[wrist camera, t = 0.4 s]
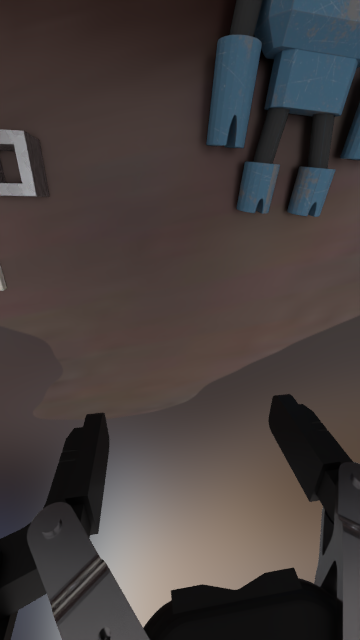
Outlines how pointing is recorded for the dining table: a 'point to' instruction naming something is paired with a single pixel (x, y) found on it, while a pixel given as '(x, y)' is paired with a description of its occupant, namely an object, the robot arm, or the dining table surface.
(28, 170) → the collar
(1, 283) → the post
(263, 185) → the toy
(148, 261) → the dining table surface
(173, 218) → the dining table surface
